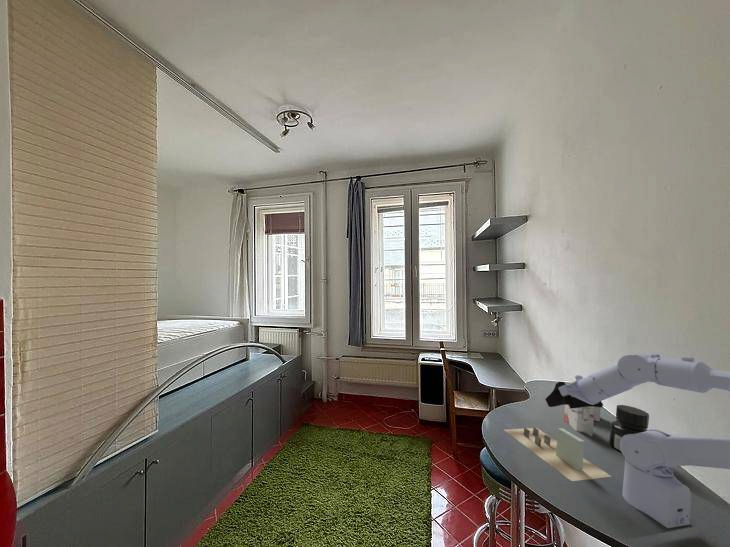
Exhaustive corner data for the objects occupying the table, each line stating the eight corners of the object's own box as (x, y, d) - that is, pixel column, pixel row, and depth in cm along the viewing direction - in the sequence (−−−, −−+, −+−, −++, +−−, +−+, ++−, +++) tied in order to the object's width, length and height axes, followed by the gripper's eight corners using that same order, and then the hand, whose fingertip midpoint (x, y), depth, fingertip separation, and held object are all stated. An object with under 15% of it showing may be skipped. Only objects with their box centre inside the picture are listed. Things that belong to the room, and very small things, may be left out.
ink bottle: (615, 456, 81) (618, 412, 81) (601, 440, 89) (604, 400, 89) (660, 466, 77) (664, 421, 77) (642, 449, 86) (645, 408, 86)
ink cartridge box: (562, 421, 100) (566, 377, 100) (579, 423, 99) (582, 380, 99) (575, 434, 91) (579, 386, 91) (593, 437, 90) (597, 389, 90)
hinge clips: (550, 445, 82) (550, 437, 82) (539, 445, 81) (539, 438, 81) (534, 434, 87) (534, 427, 87) (523, 434, 86) (524, 428, 86)
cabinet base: (611, 480, 70) (612, 476, 70) (571, 485, 67) (571, 481, 67) (536, 431, 91) (536, 427, 91) (503, 433, 88) (503, 429, 88)
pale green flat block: (582, 470, 71) (584, 441, 71) (577, 470, 71) (579, 441, 71) (560, 454, 77) (562, 428, 77) (555, 455, 77) (558, 428, 77)
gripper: (614, 370, 75) (570, 390, 84) (572, 365, 71) (531, 386, 80) (632, 399, 70) (584, 417, 79) (588, 395, 66) (543, 414, 75)
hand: (558, 403), depth 79 cm, fingers open, 7 cm apart
